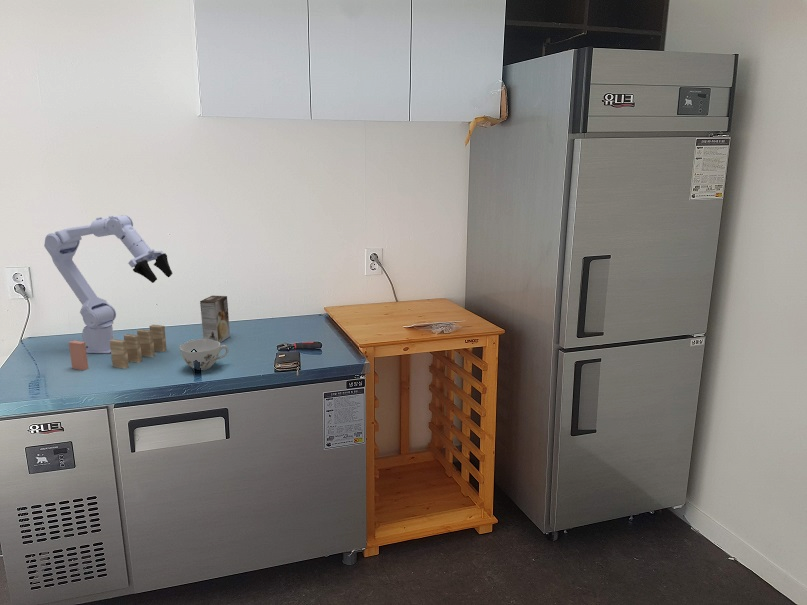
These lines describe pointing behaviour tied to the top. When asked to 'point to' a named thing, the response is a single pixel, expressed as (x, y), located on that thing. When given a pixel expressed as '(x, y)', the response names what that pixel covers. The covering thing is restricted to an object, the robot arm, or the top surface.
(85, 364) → the end domino
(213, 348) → the teacup
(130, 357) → the domino
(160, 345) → the domino
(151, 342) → the domino
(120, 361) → the domino
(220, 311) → the coffee box
